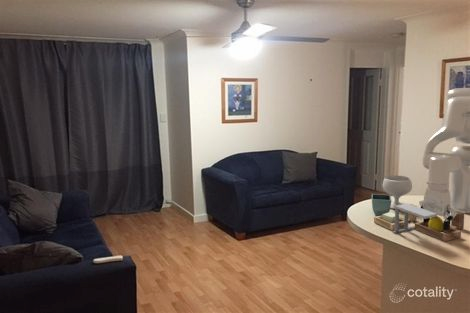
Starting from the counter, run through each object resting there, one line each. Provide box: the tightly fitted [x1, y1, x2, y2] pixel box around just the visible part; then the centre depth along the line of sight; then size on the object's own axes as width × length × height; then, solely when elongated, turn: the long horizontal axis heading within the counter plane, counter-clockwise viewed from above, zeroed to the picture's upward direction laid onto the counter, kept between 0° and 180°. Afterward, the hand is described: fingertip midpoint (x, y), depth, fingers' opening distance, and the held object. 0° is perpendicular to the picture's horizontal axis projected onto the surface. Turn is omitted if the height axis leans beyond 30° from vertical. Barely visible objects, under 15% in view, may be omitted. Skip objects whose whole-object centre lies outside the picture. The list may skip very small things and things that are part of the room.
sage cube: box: [382, 211, 395, 224], centre depth 172 cm, size 5×5×5 cm
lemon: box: [428, 215, 444, 233], centre depth 159 cm, size 6×6×8 cm
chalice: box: [382, 174, 413, 210], centre depth 195 cm, size 14×14×15 cm
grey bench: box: [392, 203, 438, 235], centre depth 159 cm, size 22×15×12 cm
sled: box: [373, 203, 418, 231], centre depth 173 cm, size 18×11×7 cm, turn 112°
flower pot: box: [371, 193, 392, 217], centre depth 185 cm, size 9×9×9 cm
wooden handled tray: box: [414, 211, 466, 242], centre depth 162 cm, size 18×15×7 cm
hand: (436, 225), depth 160 cm, fingers open, 9 cm apart
